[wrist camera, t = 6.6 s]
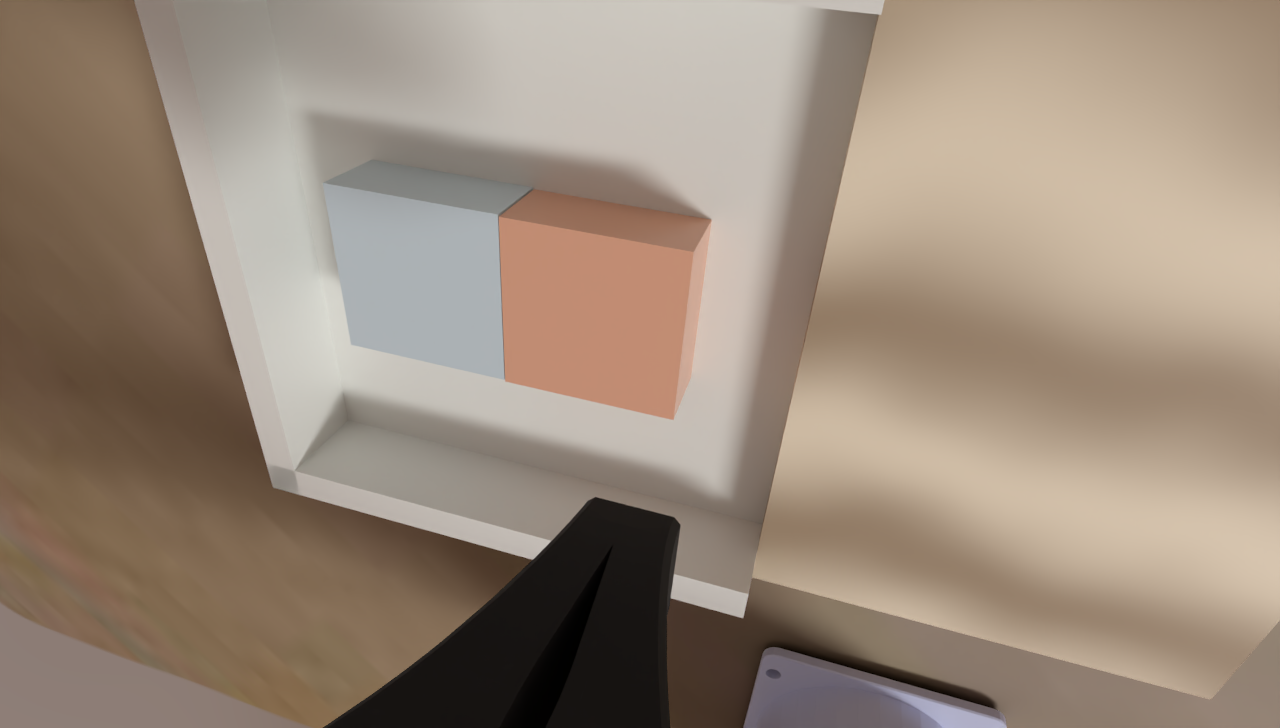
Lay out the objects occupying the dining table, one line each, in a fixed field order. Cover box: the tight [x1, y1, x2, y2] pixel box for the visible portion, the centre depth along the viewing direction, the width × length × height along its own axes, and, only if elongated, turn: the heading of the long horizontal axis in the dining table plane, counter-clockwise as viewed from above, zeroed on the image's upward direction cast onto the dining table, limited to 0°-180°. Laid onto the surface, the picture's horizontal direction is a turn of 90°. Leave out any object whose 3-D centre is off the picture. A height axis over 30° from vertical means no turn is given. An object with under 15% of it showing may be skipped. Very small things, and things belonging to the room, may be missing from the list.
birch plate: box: [752, 0, 1280, 700], centre depth 16 cm, size 16×12×2 cm
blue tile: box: [323, 160, 533, 380], centre depth 18 cm, size 4×4×2 cm
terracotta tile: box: [499, 189, 712, 420], centre depth 18 cm, size 4×4×2 cm
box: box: [134, 0, 885, 618], centre depth 18 cm, size 16×15×4 cm
